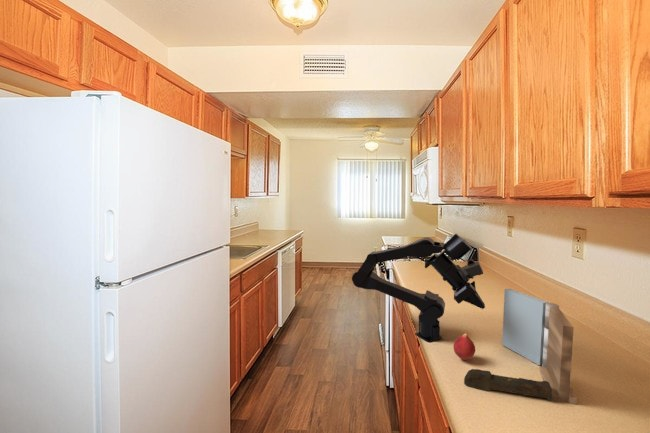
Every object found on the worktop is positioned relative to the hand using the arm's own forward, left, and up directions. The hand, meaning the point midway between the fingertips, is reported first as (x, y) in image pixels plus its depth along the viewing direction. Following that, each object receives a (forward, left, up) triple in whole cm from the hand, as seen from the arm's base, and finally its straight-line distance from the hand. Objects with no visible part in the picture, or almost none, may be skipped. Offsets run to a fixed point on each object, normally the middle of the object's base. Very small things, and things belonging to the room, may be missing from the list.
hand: (483, 306), depth 104 cm
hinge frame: (+22, -1, -13) cm, 25 cm away
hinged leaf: (+11, +5, -12) cm, 17 cm away
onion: (+3, -13, -13) cm, 18 cm away
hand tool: (+19, -16, -13) cm, 28 cm away
